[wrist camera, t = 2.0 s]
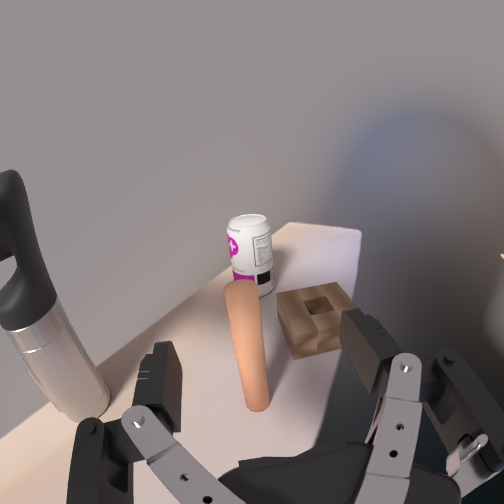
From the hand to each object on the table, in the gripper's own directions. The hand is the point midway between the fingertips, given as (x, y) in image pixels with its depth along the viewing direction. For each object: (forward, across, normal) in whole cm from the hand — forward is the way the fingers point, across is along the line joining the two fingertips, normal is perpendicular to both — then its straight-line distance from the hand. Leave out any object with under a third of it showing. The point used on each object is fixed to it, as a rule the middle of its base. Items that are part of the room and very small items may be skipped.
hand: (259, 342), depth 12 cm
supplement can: (+39, -4, +22) cm, 45 cm away
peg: (+11, 0, +22) cm, 25 cm away
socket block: (+23, -12, +22) cm, 34 cm away
